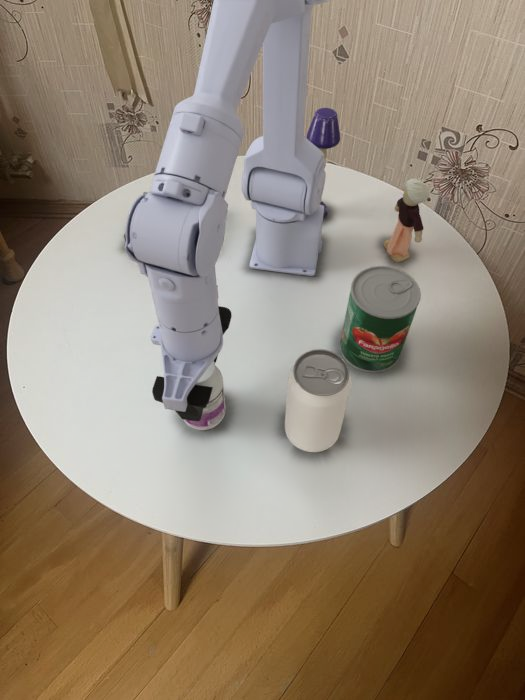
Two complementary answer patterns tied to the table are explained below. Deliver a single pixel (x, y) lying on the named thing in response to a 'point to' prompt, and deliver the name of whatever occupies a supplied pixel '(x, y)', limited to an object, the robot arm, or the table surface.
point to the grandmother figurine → (407, 220)
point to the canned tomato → (378, 318)
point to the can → (316, 400)
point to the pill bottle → (211, 400)
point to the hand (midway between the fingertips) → (199, 387)
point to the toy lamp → (324, 134)
